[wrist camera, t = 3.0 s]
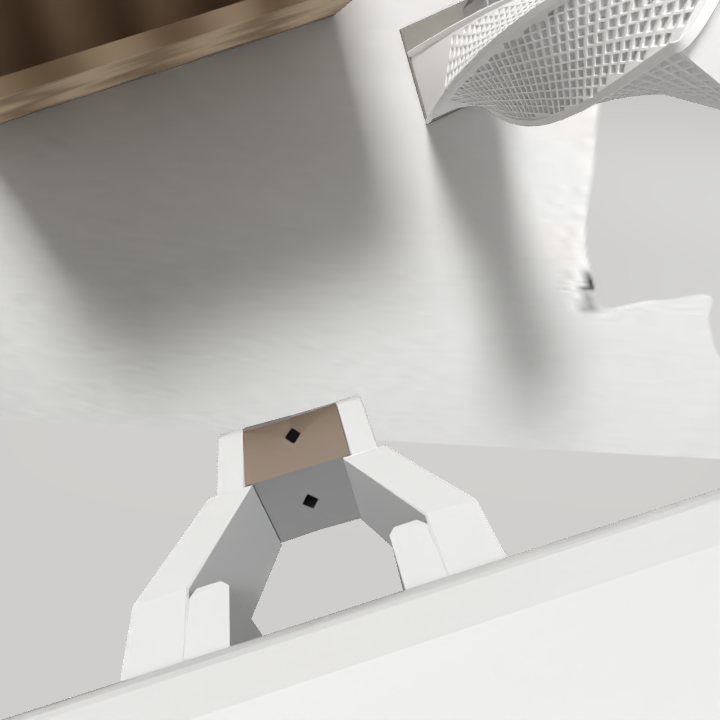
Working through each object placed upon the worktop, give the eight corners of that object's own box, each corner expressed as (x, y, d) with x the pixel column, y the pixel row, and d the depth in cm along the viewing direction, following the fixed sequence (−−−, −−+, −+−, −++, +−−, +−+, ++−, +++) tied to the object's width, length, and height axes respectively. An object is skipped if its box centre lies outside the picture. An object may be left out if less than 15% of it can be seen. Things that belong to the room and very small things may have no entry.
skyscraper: (500, 108, 42) (916, 78, 18) (418, 147, 41) (735, 172, 17) (477, -6, 38) (980, -247, 14) (385, 36, 37) (743, -140, 13)
